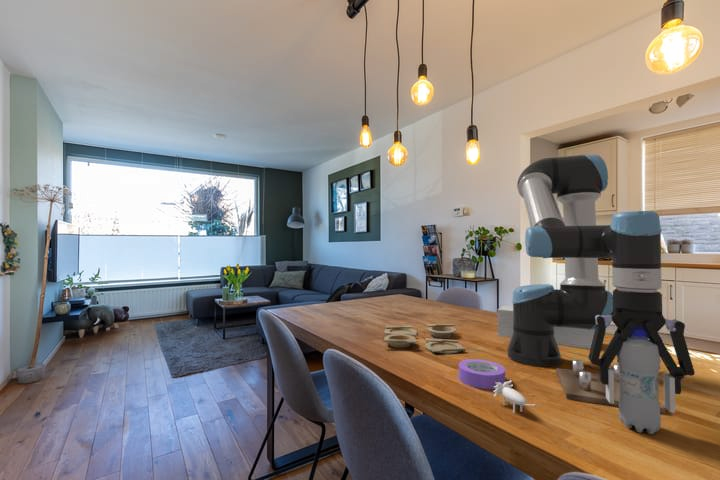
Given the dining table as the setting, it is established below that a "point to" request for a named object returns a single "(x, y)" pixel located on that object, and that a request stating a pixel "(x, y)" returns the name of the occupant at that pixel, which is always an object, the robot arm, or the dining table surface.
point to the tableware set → (404, 338)
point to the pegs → (589, 374)
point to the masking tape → (481, 373)
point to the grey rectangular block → (561, 334)
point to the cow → (510, 395)
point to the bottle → (639, 382)
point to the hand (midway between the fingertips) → (638, 404)
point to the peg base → (597, 389)
